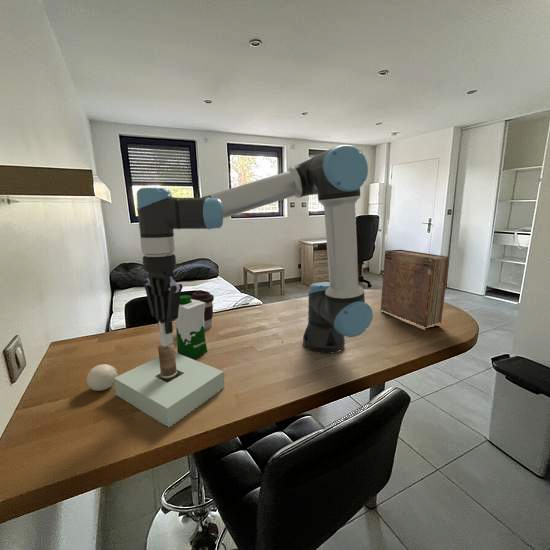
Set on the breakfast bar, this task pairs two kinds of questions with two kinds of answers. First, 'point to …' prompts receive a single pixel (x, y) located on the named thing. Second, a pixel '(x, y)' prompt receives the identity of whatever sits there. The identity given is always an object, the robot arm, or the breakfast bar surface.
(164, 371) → the peg
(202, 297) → the coffee cup
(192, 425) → the breakfast bar surface
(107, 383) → the baseball
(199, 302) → the milk carton
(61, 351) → the breakfast bar surface
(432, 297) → the book
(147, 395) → the board
